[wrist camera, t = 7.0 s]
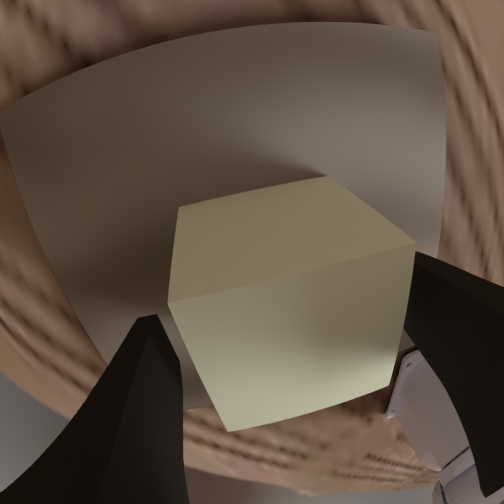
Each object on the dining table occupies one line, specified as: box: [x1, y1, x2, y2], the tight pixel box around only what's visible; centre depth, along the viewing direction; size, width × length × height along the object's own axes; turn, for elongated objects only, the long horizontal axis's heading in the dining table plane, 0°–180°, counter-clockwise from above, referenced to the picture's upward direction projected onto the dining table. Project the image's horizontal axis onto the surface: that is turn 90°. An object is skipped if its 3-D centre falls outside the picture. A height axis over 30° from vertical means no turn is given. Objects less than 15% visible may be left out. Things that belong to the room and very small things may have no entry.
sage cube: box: [168, 176, 416, 432], centre depth 9 cm, size 5×5×5 cm
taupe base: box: [0, 22, 446, 410], centre depth 12 cm, size 16×16×2 cm
